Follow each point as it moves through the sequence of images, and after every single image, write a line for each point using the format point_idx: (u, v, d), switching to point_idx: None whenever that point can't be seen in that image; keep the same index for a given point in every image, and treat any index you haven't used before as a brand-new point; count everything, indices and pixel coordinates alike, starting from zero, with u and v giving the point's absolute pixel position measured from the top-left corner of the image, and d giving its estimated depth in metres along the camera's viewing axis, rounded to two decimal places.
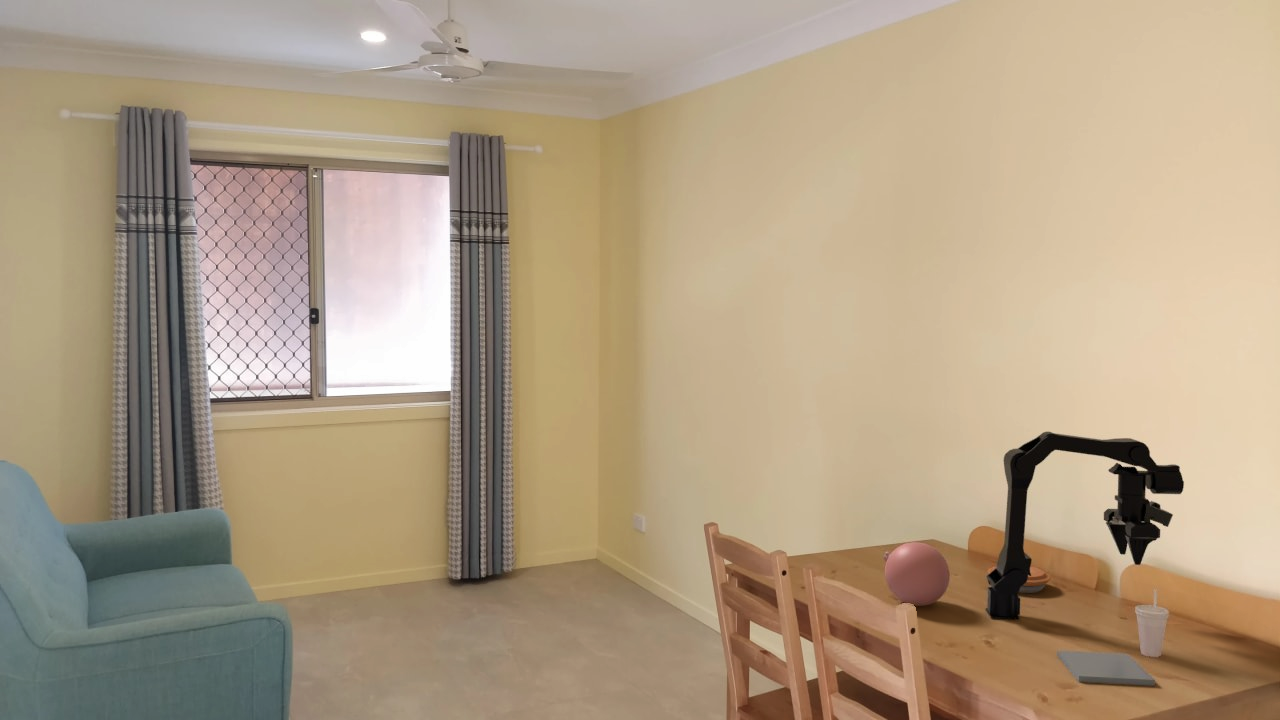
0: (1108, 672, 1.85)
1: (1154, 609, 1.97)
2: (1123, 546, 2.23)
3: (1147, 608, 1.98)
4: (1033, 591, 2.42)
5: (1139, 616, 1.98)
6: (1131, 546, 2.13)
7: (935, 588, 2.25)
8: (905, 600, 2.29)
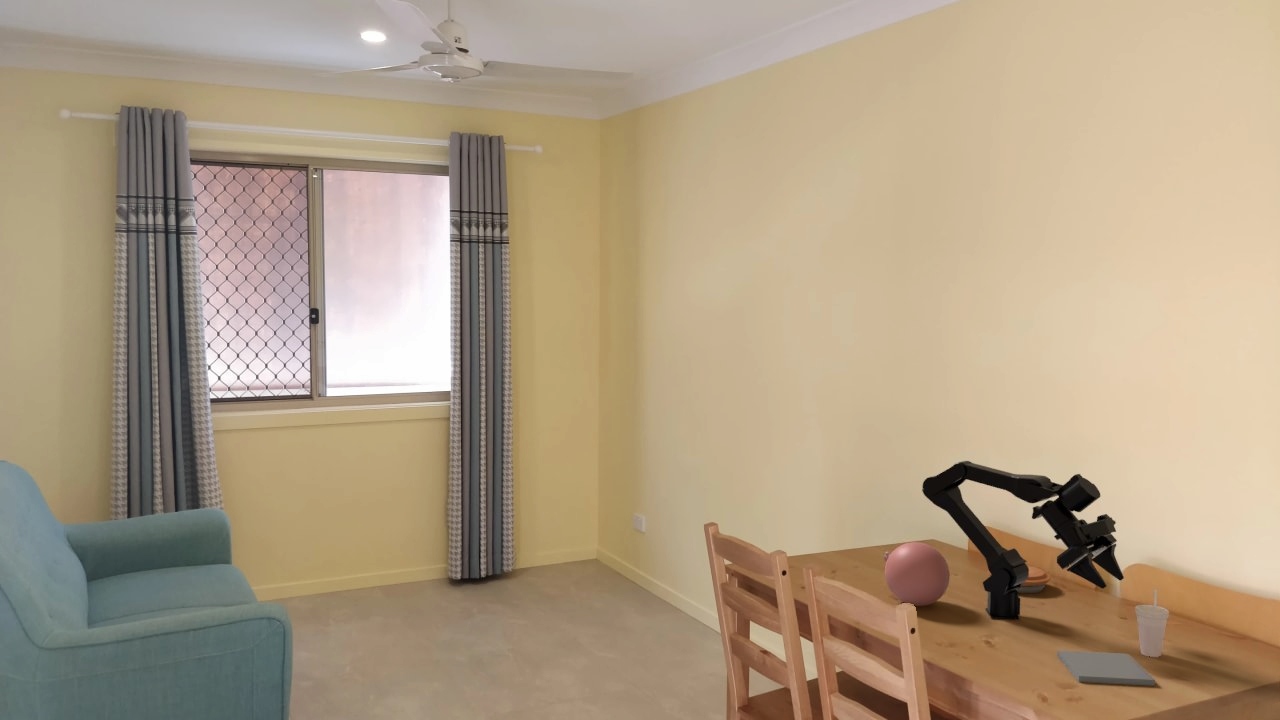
0: (1108, 672, 1.85)
1: (1154, 609, 1.97)
2: (1116, 572, 2.08)
3: (1147, 608, 1.98)
4: (1033, 591, 2.42)
5: (1139, 616, 1.98)
6: (1080, 575, 2.04)
7: (935, 588, 2.25)
8: (905, 600, 2.29)
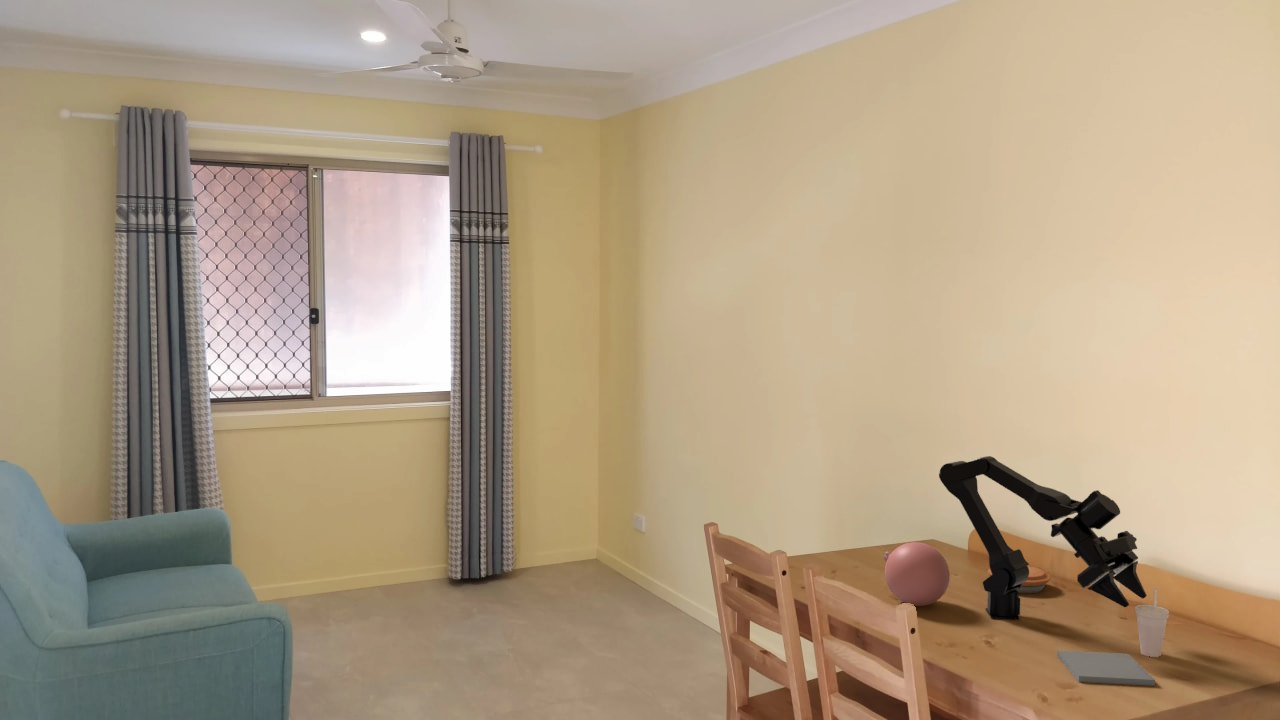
0: (1108, 672, 1.85)
1: (1154, 609, 1.97)
2: (1138, 590, 2.04)
3: (1147, 608, 1.98)
4: (1033, 591, 2.42)
5: (1139, 616, 1.98)
6: (1102, 594, 2.00)
7: (935, 588, 2.25)
8: (905, 600, 2.29)
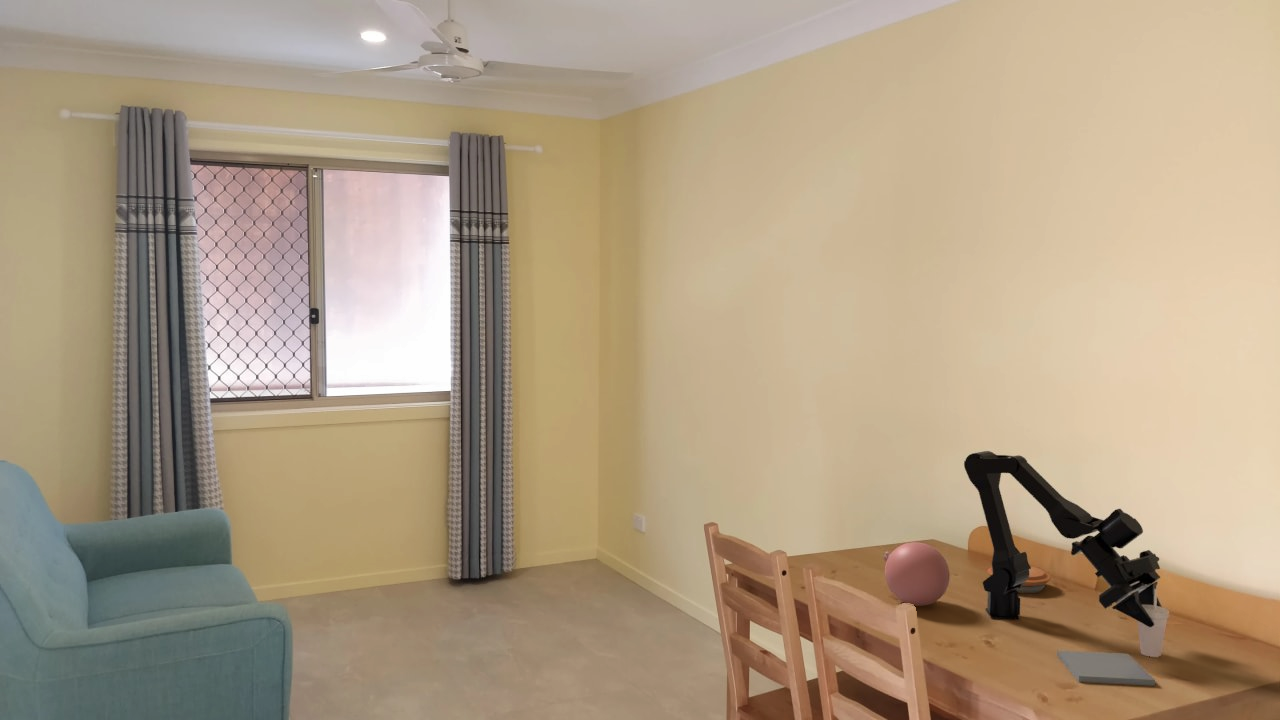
0: (1108, 672, 1.85)
1: (1154, 609, 1.97)
2: None
3: (1147, 608, 1.98)
4: (1033, 591, 2.42)
5: None
6: (1126, 613, 1.97)
7: (935, 588, 2.25)
8: (905, 600, 2.29)
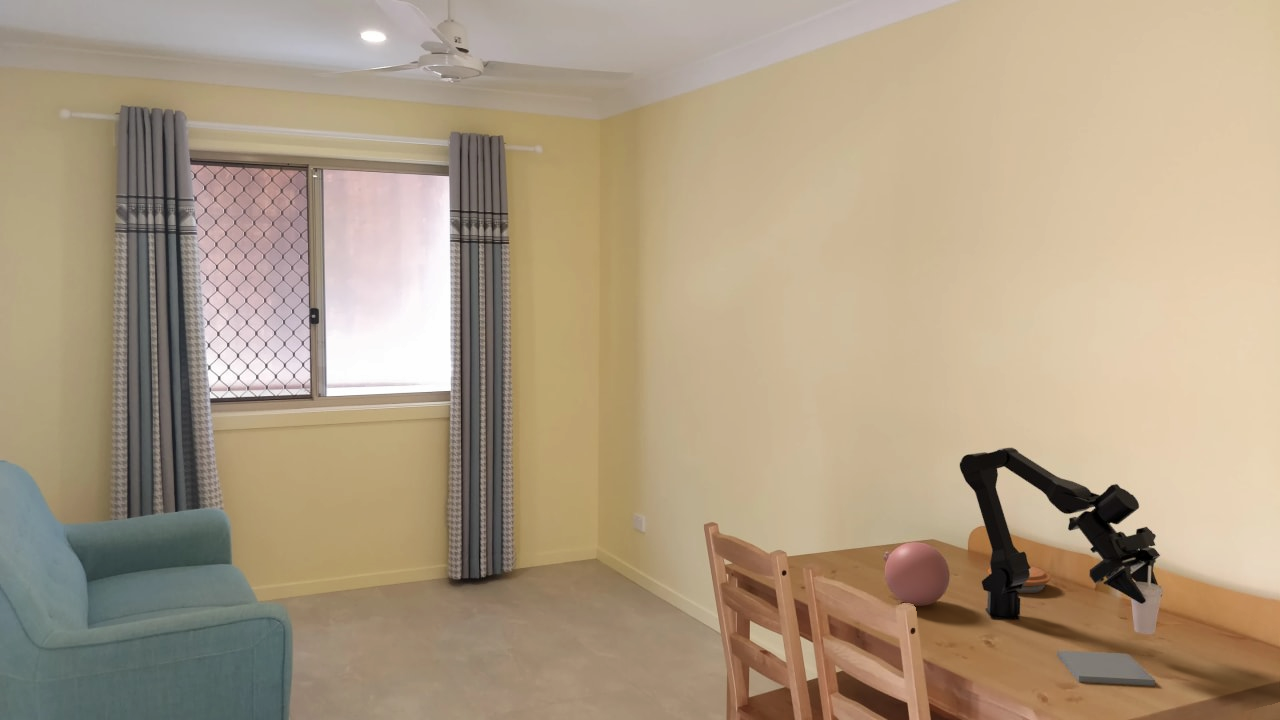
0: (1108, 672, 1.85)
1: (1148, 586, 1.95)
2: None
3: (1141, 585, 1.96)
4: (1033, 591, 2.42)
5: None
6: (1118, 589, 1.95)
7: (935, 588, 2.25)
8: (905, 600, 2.29)
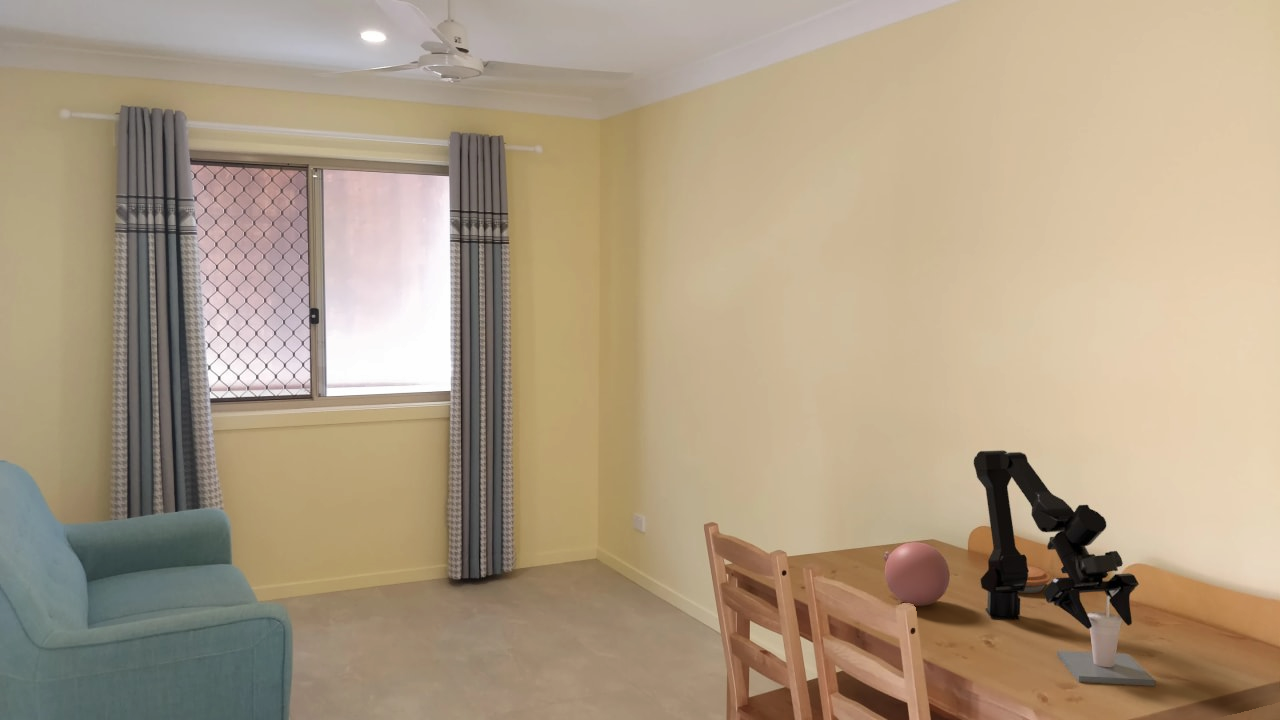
0: (1108, 672, 1.85)
1: (1105, 616, 1.89)
2: (1125, 616, 1.90)
3: (1099, 615, 1.90)
4: (1033, 591, 2.42)
5: None
6: (1068, 612, 1.91)
7: (935, 588, 2.25)
8: (905, 600, 2.29)
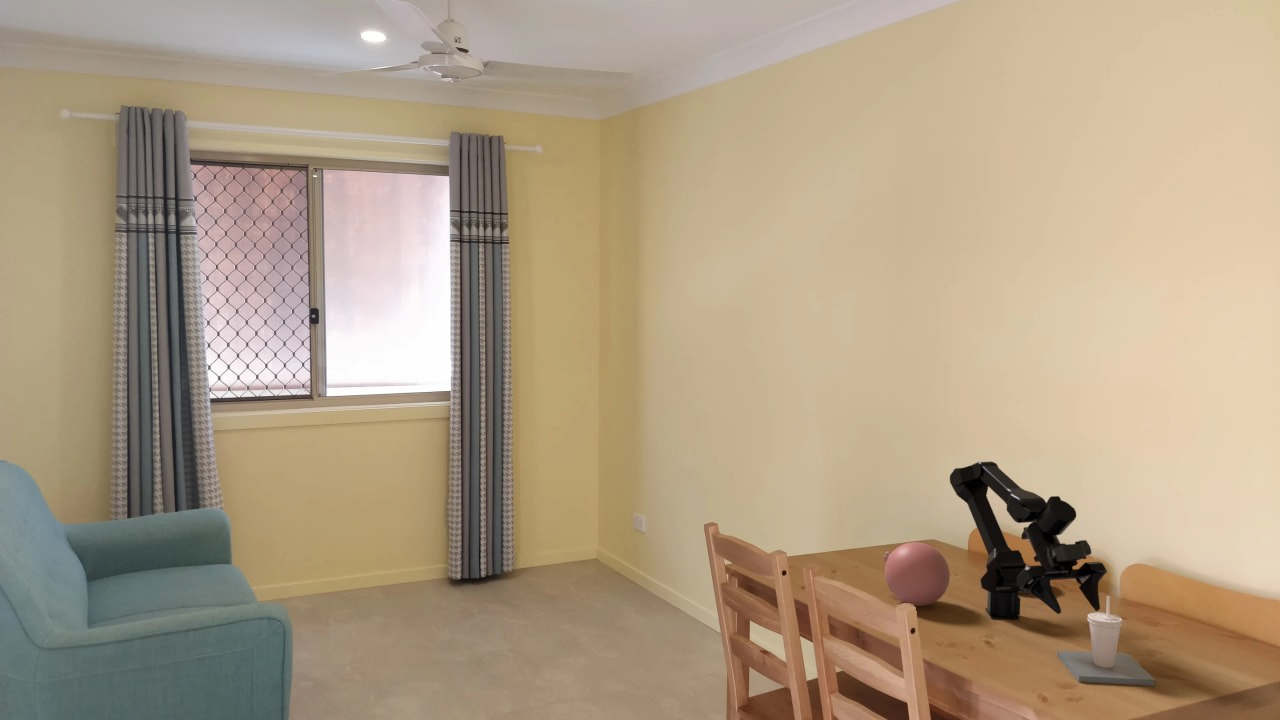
0: (1108, 672, 1.85)
1: (1105, 617, 1.89)
2: (1093, 602, 1.99)
3: (1099, 615, 1.90)
4: None
5: (1089, 622, 1.90)
6: (1039, 598, 2.00)
7: (935, 588, 2.25)
8: (905, 600, 2.29)
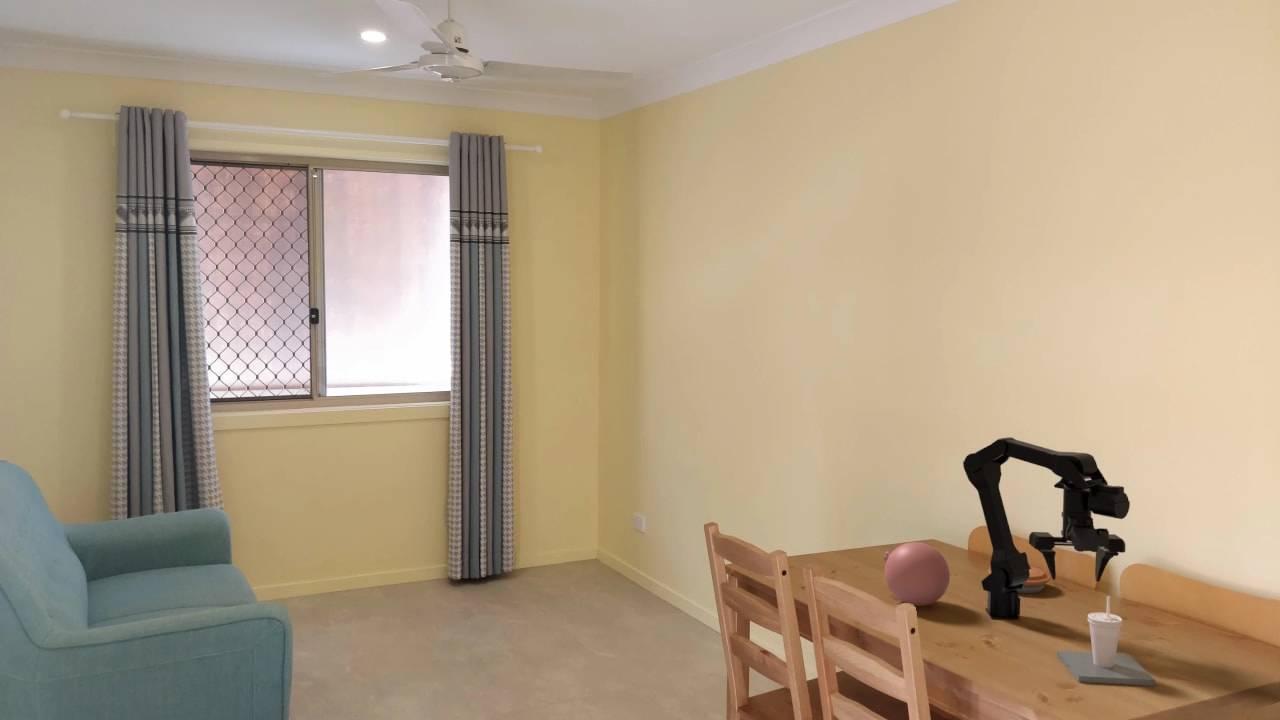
0: (1108, 672, 1.85)
1: (1105, 617, 1.89)
2: (1096, 572, 2.07)
3: (1099, 615, 1.90)
4: (1033, 591, 2.42)
5: (1089, 622, 1.90)
6: (1044, 556, 2.10)
7: (935, 588, 2.25)
8: (905, 600, 2.29)
